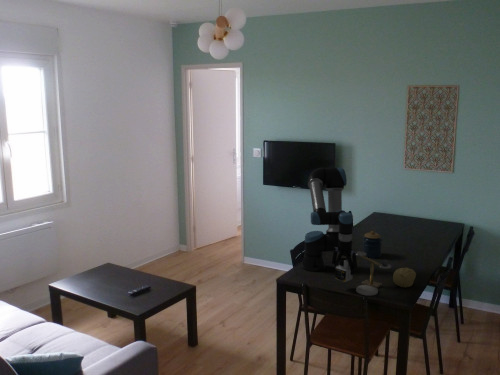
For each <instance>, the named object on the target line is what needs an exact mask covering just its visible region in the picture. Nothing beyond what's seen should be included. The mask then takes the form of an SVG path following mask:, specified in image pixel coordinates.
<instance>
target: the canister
mask: <svg viewBox="0 0 500 375" xmlns="http://www.w3.org/2000/svg"><path fill="white" fill-rule="evenodd" d="M381 237H382V236H381V234H379V233H377V232H375V231H374V230H372V231H370V232H366V233H364V234H363V238H362V252H365V253H366V257H369V258H370V259H378V258H381V256H382V245H383V244H382V242H383V238H381Z"/></svg>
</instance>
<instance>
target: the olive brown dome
mask: <svg viewBox="0 0 500 375" xmlns="http://www.w3.org/2000/svg"><path fill="white" fill-rule="evenodd" d="M416 276H417V273H416V272H415V270H414V269H412V268H409V267H400V268H399V267H398V268H396V270H395V271H394V272H393V276H392V280H393V281H392V282H394V284H395V285H396V286H398V287H401V288H403V289H404V288H410V287H411V286H413V284H414V281H415V279H416V278H417V277H416Z"/></svg>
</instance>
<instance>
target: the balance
mask: <svg viewBox="0 0 500 375" xmlns="http://www.w3.org/2000/svg"><path fill="white" fill-rule="evenodd" d="M362 251H363V250H362ZM362 251H359V250H358V251H356V252H357V254H356V257H360V258H363V259H364V260H366V261H369V262H370V263H369V265H370V266H369V268H370V269H369V270H370V271H369V279H365V280H362V282H361V283H360V286H361V285H369V286H373V287H375V288H377V289H378V290H379V288H380V287H382V282H377V281H374V272H375V265H376V266H378V267H379V268H380V269H384V270H389V269H391V268H392V265H391V264H389V261H388V260H387V259H382V262H381V263H379V262H378V261H375V260H374V259H373V258H368V257H366V253H365V252H362Z"/></svg>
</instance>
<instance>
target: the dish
mask: <svg viewBox="0 0 500 375" xmlns="http://www.w3.org/2000/svg"><path fill="white" fill-rule="evenodd" d="M355 292H356V293H357V294H359V295H361V296H365V297H366V296H367V297H373V296H376V295H378V293H379V288H378V289H377V288H375V287H373V286H369V285H361V284H360V285H358V286H357V287H356V290H355Z"/></svg>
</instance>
